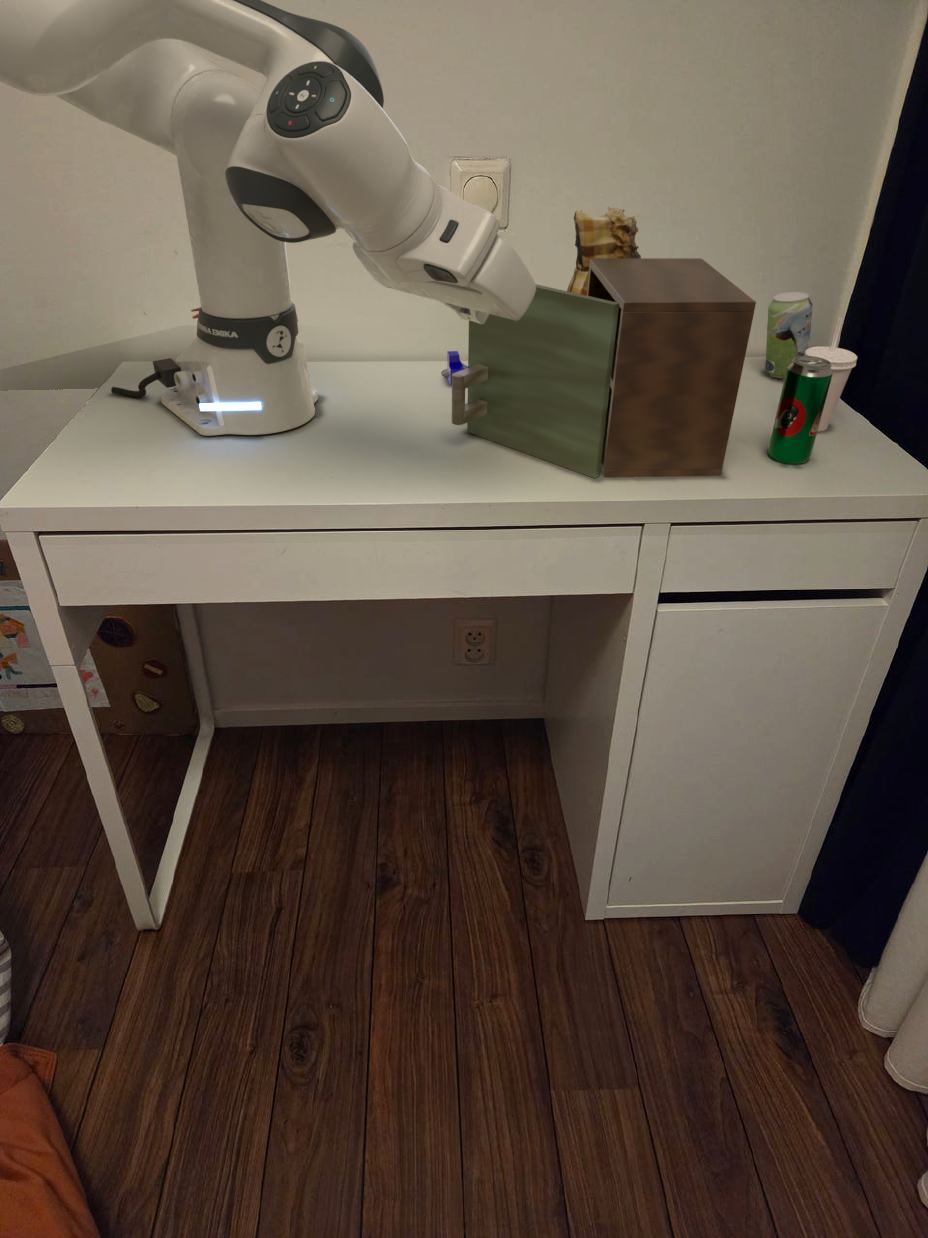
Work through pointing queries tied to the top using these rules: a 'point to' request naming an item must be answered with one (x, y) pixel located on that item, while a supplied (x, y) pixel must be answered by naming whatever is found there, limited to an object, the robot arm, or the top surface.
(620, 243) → the plaid cloth bag
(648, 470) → the cupboard
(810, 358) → the soda can
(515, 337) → the door
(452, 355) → the cable holder
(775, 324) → the beverage can
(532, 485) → the top surface
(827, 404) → the smoothie
